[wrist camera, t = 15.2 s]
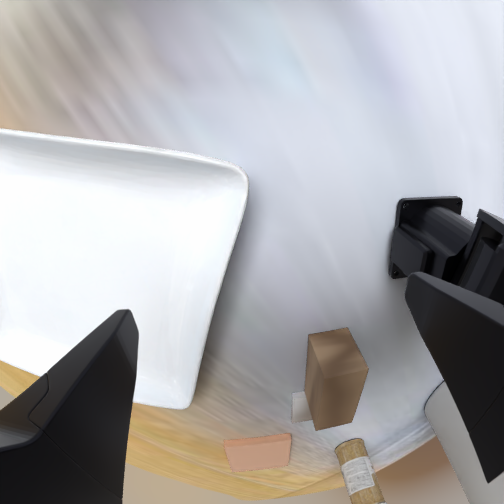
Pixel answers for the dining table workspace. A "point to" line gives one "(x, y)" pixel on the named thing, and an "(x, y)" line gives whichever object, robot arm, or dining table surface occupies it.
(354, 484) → the sprinkles bottle
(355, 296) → the dining table surface
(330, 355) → the tall cardboard box
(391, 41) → the dining table surface
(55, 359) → the salad plate
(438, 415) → the cylinder vase
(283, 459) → the ceramic tile
